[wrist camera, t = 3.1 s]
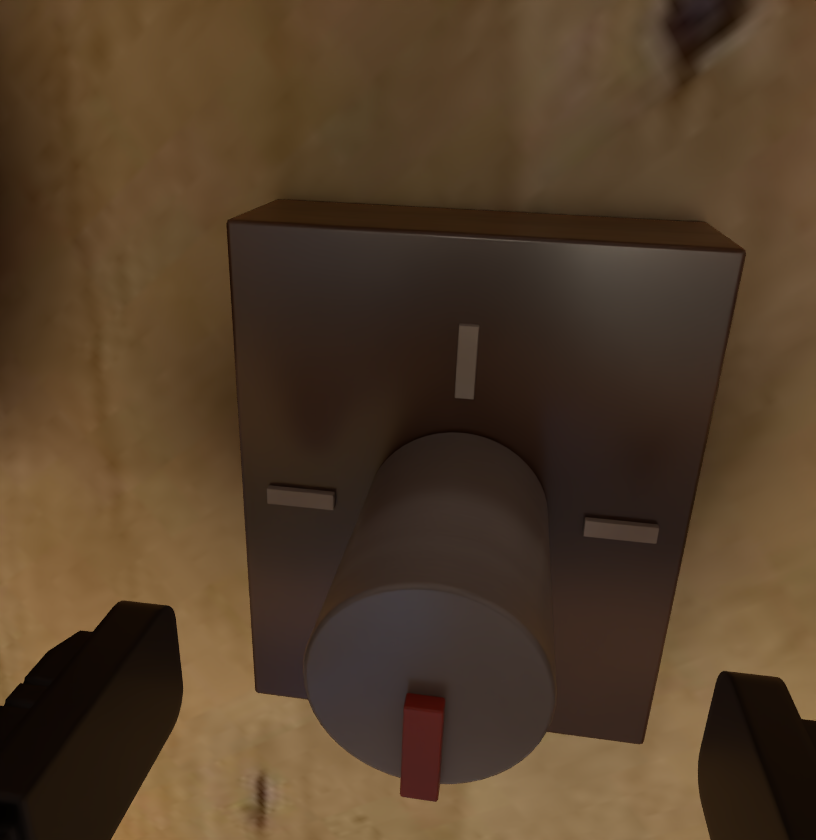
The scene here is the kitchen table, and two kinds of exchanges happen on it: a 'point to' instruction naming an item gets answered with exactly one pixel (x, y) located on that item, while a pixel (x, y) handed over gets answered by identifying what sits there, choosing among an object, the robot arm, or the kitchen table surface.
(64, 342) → the kitchen table surface
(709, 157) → the kitchen table surface
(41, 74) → the kitchen table surface
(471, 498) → the dial knob
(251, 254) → the dial panel
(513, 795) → the kitchen table surface
